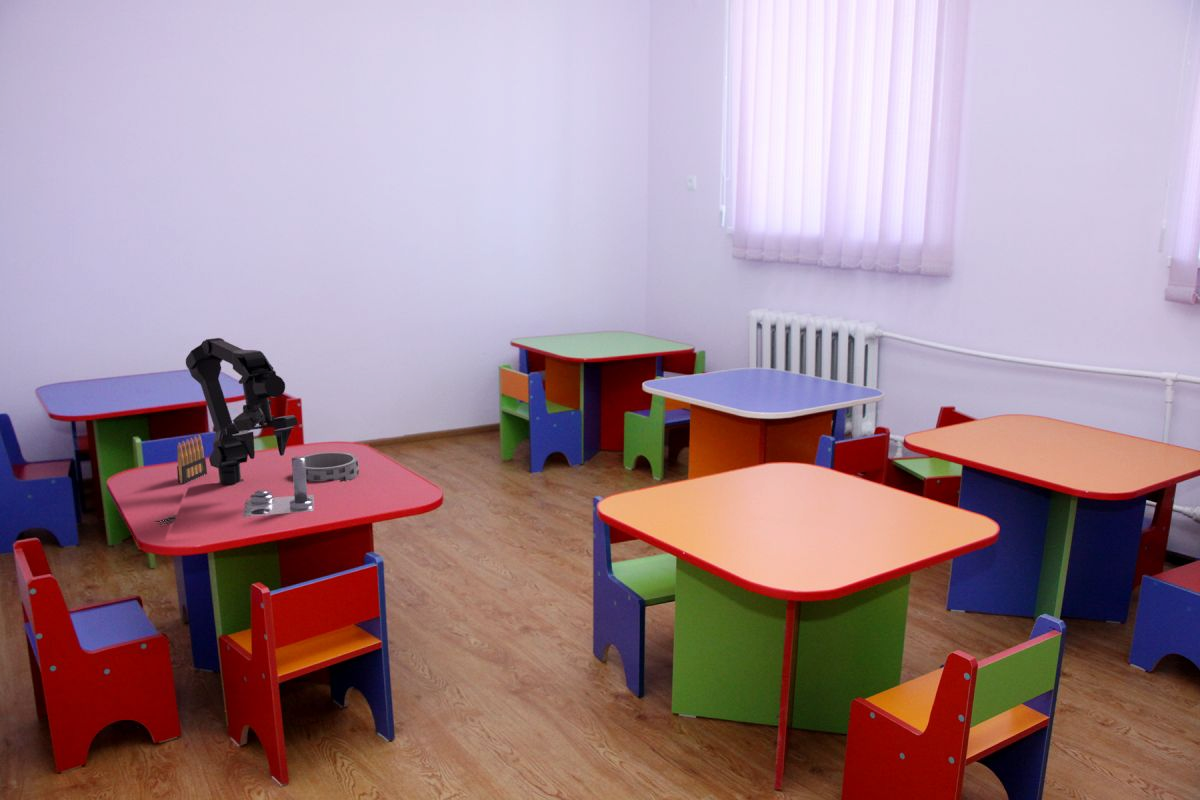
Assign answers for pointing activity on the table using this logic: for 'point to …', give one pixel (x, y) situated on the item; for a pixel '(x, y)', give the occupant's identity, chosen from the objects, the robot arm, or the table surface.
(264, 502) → the grey metal knob
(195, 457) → the ammunition clip
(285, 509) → the plate
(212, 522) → the table surface
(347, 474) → the ring
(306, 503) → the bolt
